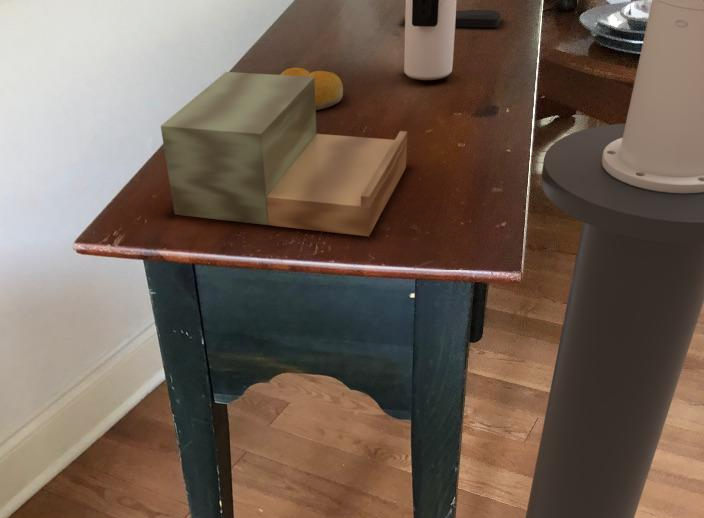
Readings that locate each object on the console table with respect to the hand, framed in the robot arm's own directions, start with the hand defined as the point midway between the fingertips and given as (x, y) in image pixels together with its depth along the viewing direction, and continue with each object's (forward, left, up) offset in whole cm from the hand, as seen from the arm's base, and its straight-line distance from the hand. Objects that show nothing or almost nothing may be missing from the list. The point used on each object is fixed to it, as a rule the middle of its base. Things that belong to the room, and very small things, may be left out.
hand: (430, 17), depth 103 cm
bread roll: (+13, +12, -8) cm, 19 cm away
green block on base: (+6, +38, -8) cm, 39 cm away
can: (0, 0, -7) cm, 7 cm away
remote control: (+1, -27, -8) cm, 29 cm away
